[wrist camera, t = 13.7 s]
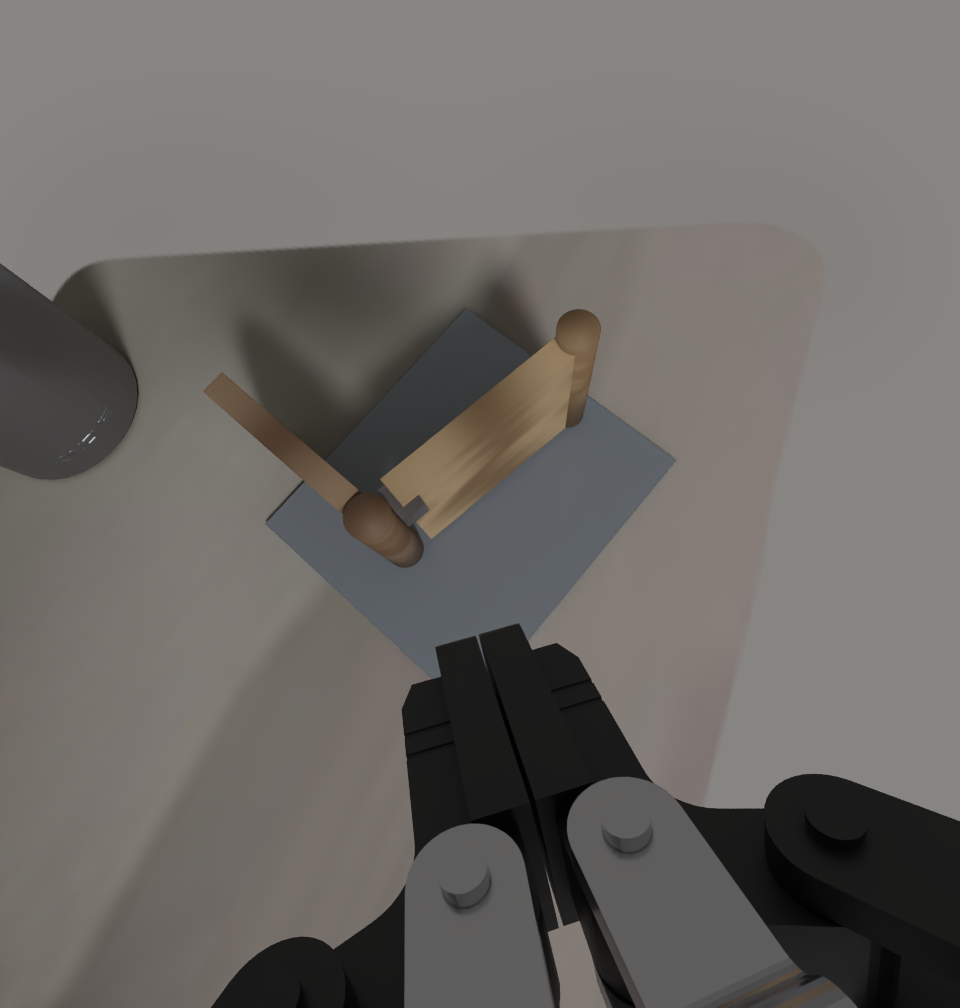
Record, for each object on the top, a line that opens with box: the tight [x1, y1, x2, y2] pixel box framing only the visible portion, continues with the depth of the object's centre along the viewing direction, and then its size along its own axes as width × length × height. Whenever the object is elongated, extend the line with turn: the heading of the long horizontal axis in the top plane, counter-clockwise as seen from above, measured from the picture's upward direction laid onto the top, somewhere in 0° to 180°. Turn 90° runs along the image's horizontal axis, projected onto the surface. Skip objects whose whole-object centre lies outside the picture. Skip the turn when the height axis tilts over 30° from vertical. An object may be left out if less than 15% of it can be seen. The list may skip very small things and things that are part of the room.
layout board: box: [266, 308, 676, 679], centre depth 32 cm, size 15×17×1 cm
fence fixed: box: [203, 373, 424, 568], centre depth 29 cm, size 11×2×8 cm, turn 49°
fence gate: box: [377, 309, 601, 539], centre depth 28 cm, size 11×2×9 cm, turn 130°
